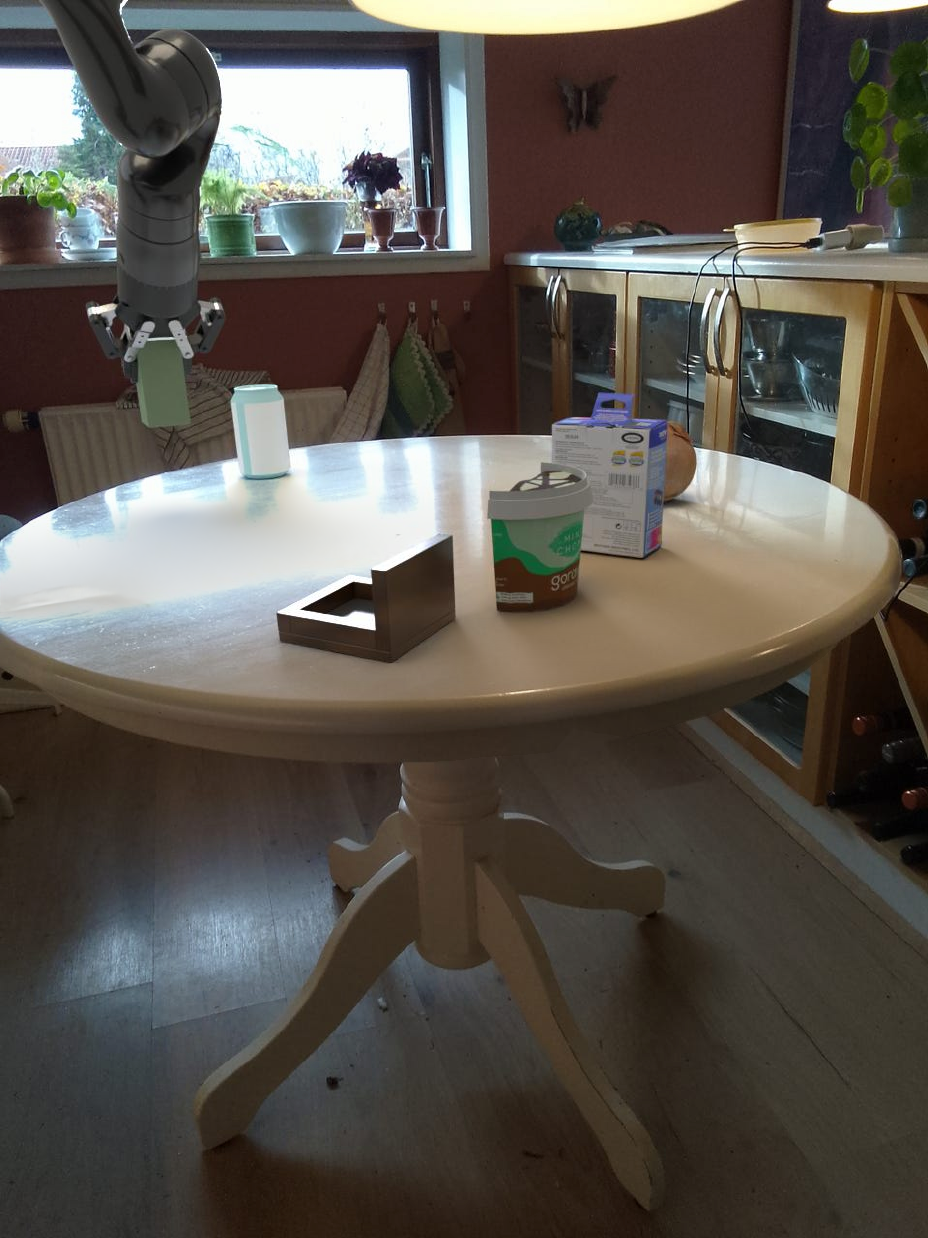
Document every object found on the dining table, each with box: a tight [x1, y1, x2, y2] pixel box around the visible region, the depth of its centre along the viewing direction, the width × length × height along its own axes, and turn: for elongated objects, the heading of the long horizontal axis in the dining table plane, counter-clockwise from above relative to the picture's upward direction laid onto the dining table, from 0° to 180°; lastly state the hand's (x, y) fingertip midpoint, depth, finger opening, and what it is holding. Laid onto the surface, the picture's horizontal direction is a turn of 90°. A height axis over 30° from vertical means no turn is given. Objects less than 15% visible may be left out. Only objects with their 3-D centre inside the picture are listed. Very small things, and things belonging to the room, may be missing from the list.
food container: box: [486, 461, 593, 613], centre depth 73 cm, size 12×6×10 cm, turn 155°
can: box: [230, 384, 291, 480], centre depth 123 cm, size 7×7×12 cm
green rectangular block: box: [135, 337, 192, 429], centre depth 98 cm, size 4×5×9 cm
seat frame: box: [275, 533, 456, 663], centre depth 68 cm, size 10×10×7 cm
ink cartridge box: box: [551, 392, 668, 559], centre depth 84 cm, size 10×6×14 cm, turn 61°
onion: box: [663, 420, 698, 503], centre depth 103 cm, size 10×9×10 cm
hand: (156, 374), depth 100 cm, fingers closed on green rectangular block, 4 cm apart
